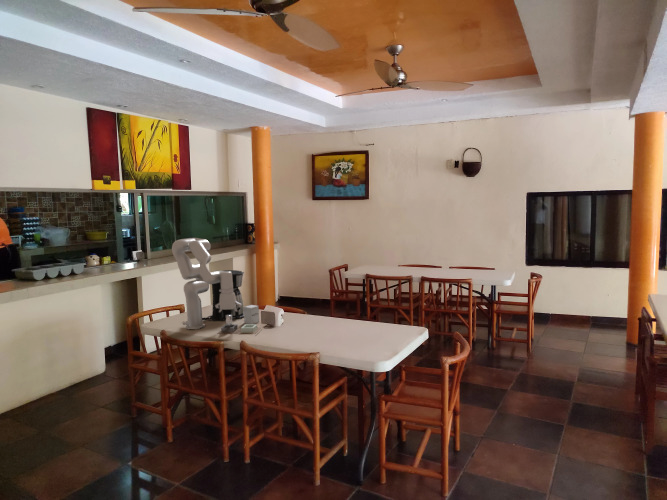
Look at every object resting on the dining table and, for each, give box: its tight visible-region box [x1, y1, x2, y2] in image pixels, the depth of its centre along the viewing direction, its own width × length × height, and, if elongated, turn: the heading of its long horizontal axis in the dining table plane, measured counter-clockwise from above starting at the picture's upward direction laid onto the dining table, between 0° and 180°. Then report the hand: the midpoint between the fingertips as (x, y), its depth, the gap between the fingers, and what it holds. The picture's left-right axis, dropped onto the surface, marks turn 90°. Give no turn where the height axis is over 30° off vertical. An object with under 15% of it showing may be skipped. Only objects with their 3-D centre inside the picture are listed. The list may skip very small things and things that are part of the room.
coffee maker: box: [202, 269, 245, 322], centre depth 336 cm, size 23×32×34 cm
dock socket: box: [240, 323, 258, 333], centre depth 297 cm, size 8×8×3 cm
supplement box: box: [243, 304, 260, 324], centre depth 317 cm, size 7×7×13 cm
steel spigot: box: [225, 315, 233, 327], centre depth 298 cm, size 4×4×10 cm
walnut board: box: [216, 323, 262, 335], centre depth 298 cm, size 25×14×4 cm, turn 83°
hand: (229, 317), depth 297 cm, fingers open, 9 cm apart
